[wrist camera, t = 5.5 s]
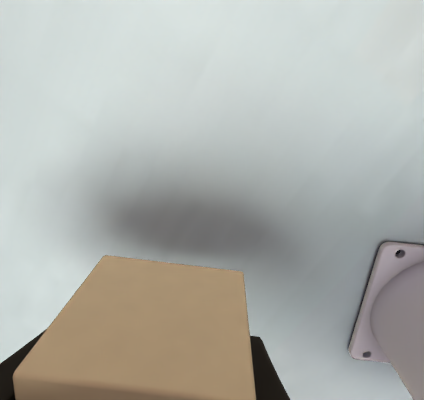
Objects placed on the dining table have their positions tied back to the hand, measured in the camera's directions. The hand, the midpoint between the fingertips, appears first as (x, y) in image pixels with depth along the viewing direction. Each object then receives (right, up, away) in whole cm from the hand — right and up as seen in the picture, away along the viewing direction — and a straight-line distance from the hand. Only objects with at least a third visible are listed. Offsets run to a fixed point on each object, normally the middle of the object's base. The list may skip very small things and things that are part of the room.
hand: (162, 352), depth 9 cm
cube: (0, 0, +1) cm, 1 cm away
